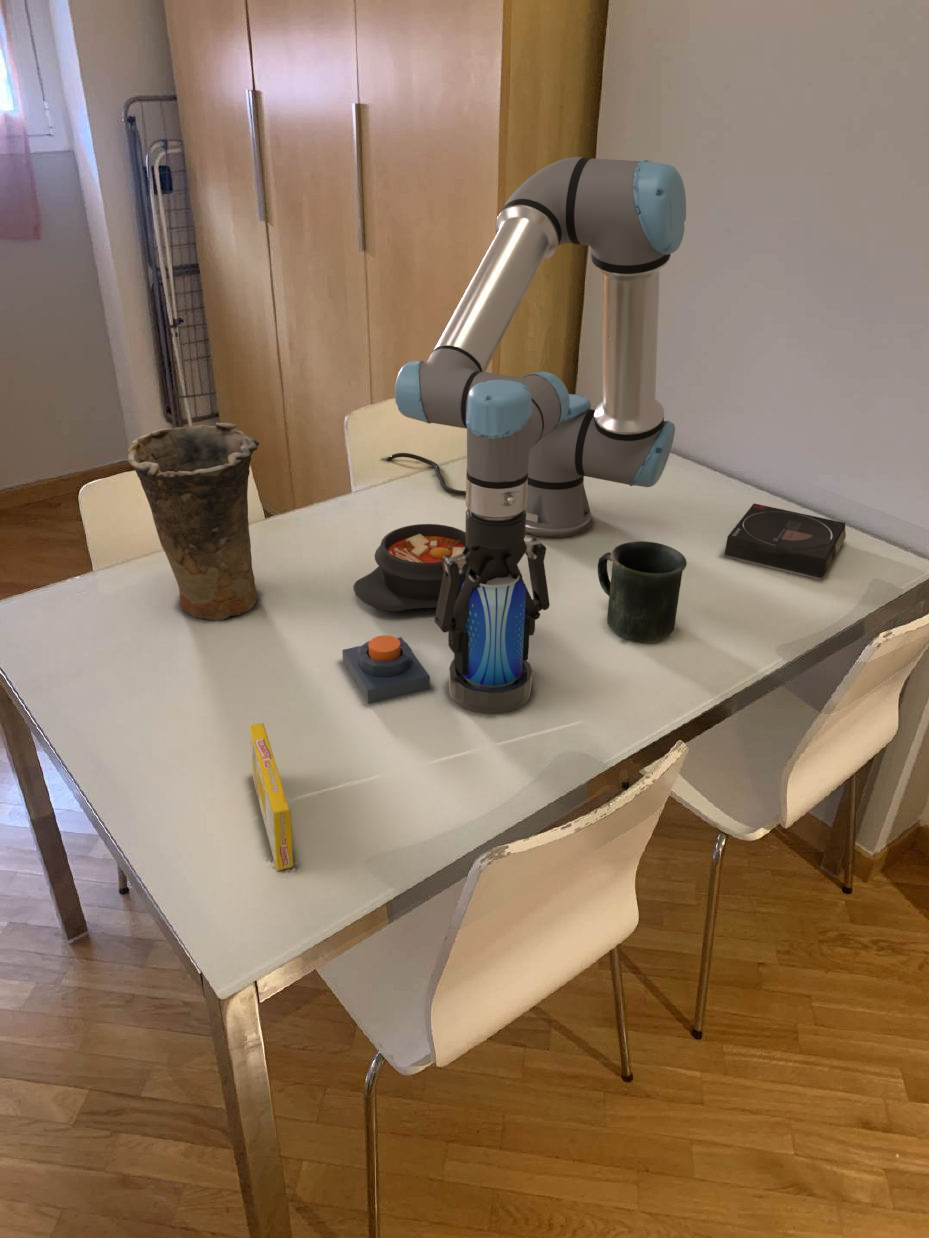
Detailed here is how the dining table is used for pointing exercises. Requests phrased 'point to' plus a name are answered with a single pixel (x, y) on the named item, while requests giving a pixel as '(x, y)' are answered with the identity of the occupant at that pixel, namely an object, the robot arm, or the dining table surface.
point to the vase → (201, 513)
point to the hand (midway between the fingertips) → (491, 662)
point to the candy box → (271, 797)
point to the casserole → (411, 567)
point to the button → (384, 648)
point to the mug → (642, 589)
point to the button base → (385, 673)
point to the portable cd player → (786, 541)
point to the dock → (490, 693)
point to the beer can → (496, 633)
